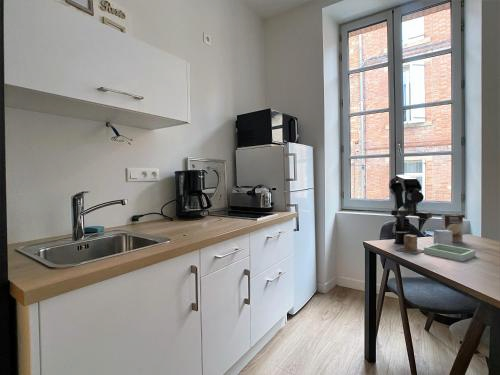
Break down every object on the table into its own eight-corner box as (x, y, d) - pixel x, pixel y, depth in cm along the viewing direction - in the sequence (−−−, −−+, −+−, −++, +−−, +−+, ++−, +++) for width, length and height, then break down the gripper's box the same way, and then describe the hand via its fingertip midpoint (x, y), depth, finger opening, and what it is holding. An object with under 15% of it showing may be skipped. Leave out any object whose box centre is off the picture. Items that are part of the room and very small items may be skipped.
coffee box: (444, 241, 161) (444, 215, 160) (441, 239, 167) (441, 213, 166) (463, 242, 158) (463, 215, 157) (458, 239, 164) (458, 214, 163)
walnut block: (404, 249, 144) (404, 235, 144) (408, 248, 146) (408, 234, 146) (412, 251, 140) (412, 236, 140) (417, 250, 142) (417, 235, 142)
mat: (396, 250, 145) (396, 249, 145) (406, 247, 150) (406, 246, 150) (415, 254, 136) (415, 253, 136) (425, 251, 141) (425, 250, 141)
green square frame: (424, 253, 139) (423, 247, 139) (437, 248, 146) (437, 243, 146) (462, 261, 124) (462, 255, 124) (475, 256, 131) (475, 250, 131)
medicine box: (447, 244, 154) (447, 229, 154) (452, 246, 150) (452, 231, 149) (433, 244, 155) (433, 229, 154) (437, 246, 150) (437, 231, 150)
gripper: (385, 201, 146) (385, 229, 147) (420, 203, 130) (421, 234, 130) (396, 199, 152) (396, 226, 152) (432, 201, 136) (432, 231, 136)
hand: (410, 229), depth 143 cm, fingers open, 9 cm apart
